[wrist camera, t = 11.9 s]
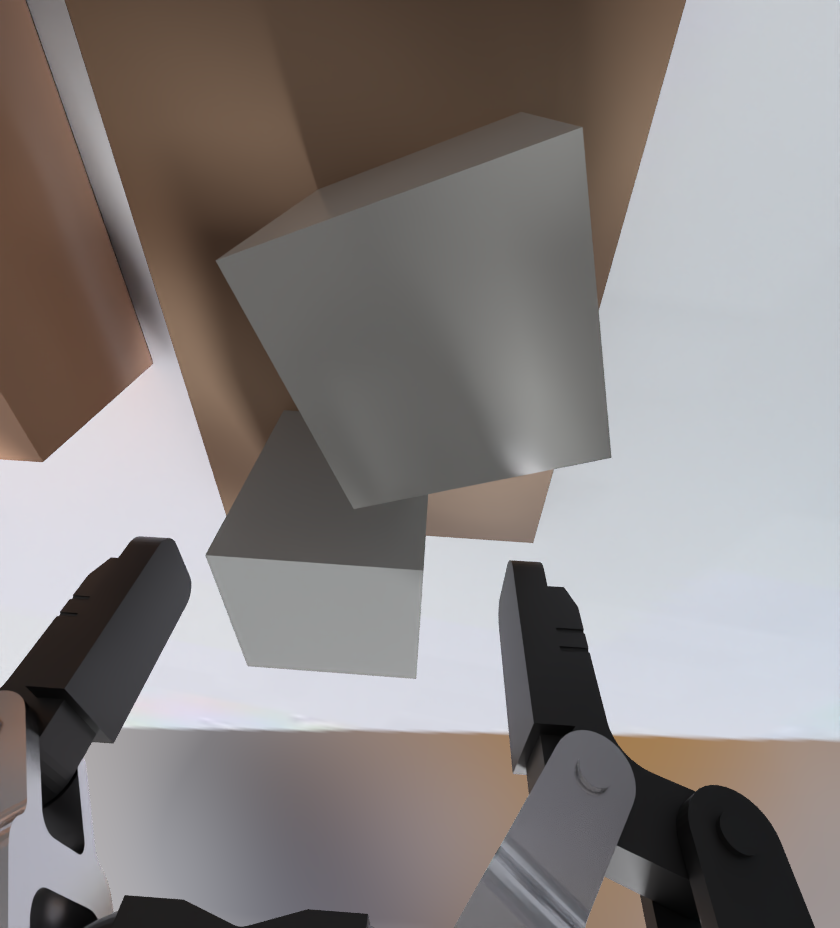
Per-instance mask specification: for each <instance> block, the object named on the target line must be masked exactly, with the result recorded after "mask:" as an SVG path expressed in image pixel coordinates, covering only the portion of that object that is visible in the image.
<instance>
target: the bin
mask: <svg viewBox="0 0 840 928" xmlns="http://www.w3.org/2000/svg"><path fill="white" fill-rule="evenodd" d="M152 364H153V362H152V359H151V356H150V353H149V351H148V348H147V345H146V342H145V339H144V336H143V333H142V331H141V328H140V325H139V322H138V319H137V316H136V314H135V311H134V308H133V305H132V302H131V299H130V296H129V294H128V291H127V288H126V285H125V282H124V279H123V277H122V274H121V271H120V268H119V265H118V262H117V259H116V257H115V254H114V251H113V248H112V245H111V242H110V240H109V237H108V234H107V231H106V228H105V225H104V222H103V220H102V217H101V214H100V211H99V208H98V205H97V203H96V200H95V197H94V194H93V191H92V188H91V185H90V183H89V180H88V177H87V174H86V171H85V168H84V166H83V163H82V160H81V157H80V154H79V151H78V148H77V146H76V143H75V140H74V137H73V134H72V131H71V129H70V126H69V123H68V120H67V117H66V114H65V111H64V109H63V106H62V103H61V100H60V97H59V94H58V92H57V89H56V86H55V83H54V80H53V77H52V74H51V72H50V69H49V66H48V63H47V60H46V57H45V55H44V52H43V49H42V46H41V43H40V40H39V37H38V35H37V32H36V29H35V26H34V23H33V20H32V18H31V15H30V12H29V9H28V6H27V3H26V0H0V459H3V460H18V461H33V462H43V461H45V460H46V459H47V458H48V457H49V456H50V455H51V454H52V453H54V452H55V451H56V450H57V449H58V448H59V447H60V446H61V445H63V444H64V443H65V442H66V441H67V440H68V439H69V438H70V437H71V436H73V435H74V434H75V433H76V432H77V431H78V430H79V429H80V428H82V427H83V426H84V425H85V424H86V423H87V422H88V421H89V420H91V419H92V418H93V417H94V416H95V415H96V414H97V413H98V412H99V411H101V410H102V409H103V408H104V407H105V406H106V405H107V404H108V403H110V402H111V401H112V400H113V399H114V398H115V397H116V396H117V395H119V394H120V393H121V392H122V391H123V390H124V389H125V388H126V387H127V386H129V385H130V384H131V383H132V382H133V381H134V380H135V379H136V378H138V377H139V376H140V375H141V374H142V373H143V372H144V371H145V370H147V369H148V368H149V367H150V366H151V365H152Z"/></svg>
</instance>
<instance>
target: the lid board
mask: <svg viewBox="0 0 840 928" xmlns="http://www.w3.org/2000/svg"><path fill="white" fill-rule="evenodd" d="M685 2H686V0H65V3H66V6H67V9H68V12H69V16H70V19H71V22H72V25H73V28H74V31H75V35H76V38H77V41H78V44H79V47H80V51H81V54H82V57H83V60H84V63H85V67H86V70H87V73H88V76H89V79H90V82H91V86H92V89H93V92H94V95H95V98H96V102H97V105H98V108H99V111H100V114H101V118H102V121H103V124H104V127H105V130H106V133H107V137H108V140H109V143H110V146H111V149H112V153H113V156H114V159H115V162H116V165H117V169H118V172H119V175H120V178H121V181H122V184H123V188H124V191H125V194H126V197H127V200H128V204H129V207H130V210H131V213H132V216H133V220H134V223H135V226H136V229H137V232H138V235H139V239H140V242H141V245H142V248H143V251H144V255H145V258H146V261H147V264H148V267H149V271H150V274H151V277H152V280H153V283H154V286H155V290H156V293H157V296H158V299H159V302H160V306H161V309H162V312H163V315H164V318H165V322H166V325H167V328H168V331H169V334H170V337H171V341H172V344H173V347H174V350H175V353H176V357H177V360H178V363H179V366H180V369H181V373H182V376H183V379H184V382H185V385H186V388H187V392H188V395H189V398H190V401H191V404H192V408H193V411H194V414H195V417H196V420H197V424H198V427H199V430H200V433H201V436H202V439H203V443H204V446H205V449H206V452H207V455H208V459H209V462H210V465H211V468H212V471H213V475H214V478H215V481H216V484H217V487H218V490H219V494H220V497H221V500H222V503H223V506H224V510H225V513H226V516H227V514H228V512H229V511H230V509H231V507H232V505H233V503H234V501H235V499H236V498H237V496H238V494H239V492H240V490H241V488H242V487H243V485H244V483H245V481H246V479H247V477H248V475H249V474H250V472H251V470H252V468H253V466H254V464H255V462H256V461H257V459H258V457H259V455H260V453H261V451H262V450H263V448H264V446H265V444H266V442H267V440H268V438H269V437H270V435H271V433H272V431H273V429H274V427H275V425H276V424H277V422H278V420H279V418H280V416H281V414H282V412H283V411H284V410H289V411H299V410H298V408H297V406H296V404H295V403H294V401H293V399H292V397H291V395H290V394H289V392H288V390H287V388H286V386H285V385H284V383H283V381H282V379H281V377H280V376H279V374H278V372H277V370H276V368H275V367H274V365H273V363H272V361H271V359H270V358H269V356H268V354H267V352H266V350H265V349H264V347H263V345H262V343H261V341H260V340H259V338H258V336H257V334H256V332H255V331H254V329H253V327H252V325H251V323H250V322H249V320H248V318H247V316H246V314H245V313H244V311H243V309H242V307H241V305H240V304H239V302H238V300H237V298H236V296H235V295H234V293H233V291H232V289H231V287H230V286H229V284H228V282H227V280H226V278H225V277H224V275H223V273H222V271H221V269H220V268H219V266H218V264H217V262H216V260H217V259H218V258H220V257H221V256H223V255H224V254H226V253H227V252H228V251H230V250H231V249H233V248H234V247H236V246H237V245H239V244H240V243H241V242H243V241H244V240H246V239H247V238H249V237H250V236H252V235H253V234H254V233H256V232H257V231H259V230H260V229H262V228H263V227H264V226H266V225H267V224H269V223H270V222H272V221H273V220H275V219H276V218H277V217H279V216H280V215H282V214H283V213H285V212H286V211H288V210H289V209H290V208H292V207H293V206H295V205H296V204H298V203H299V202H300V201H302V200H303V199H305V198H306V197H308V196H309V195H311V194H312V193H313V192H315V191H316V190H318V189H320V188H323V187H326V186H328V185H331V184H334V183H336V182H339V181H341V180H344V179H347V178H349V177H352V176H354V175H357V174H360V173H362V172H365V171H368V170H370V169H373V168H375V167H378V166H381V165H383V164H386V163H388V162H391V161H394V160H396V159H399V158H402V157H404V156H407V155H409V154H412V153H415V152H417V151H420V150H422V149H425V148H428V147H430V146H433V145H436V144H438V143H441V142H443V141H446V140H449V139H451V138H454V137H456V136H459V135H462V134H464V133H467V132H470V131H472V130H475V129H477V128H480V127H483V126H485V125H488V124H490V123H493V122H496V121H498V120H501V119H504V118H506V117H509V116H511V115H514V114H517V113H519V112H524V113H528V114H532V115H536V116H540V117H544V118H548V119H552V120H556V121H560V122H564V123H568V124H572V125H576V126H580V127H583V139H584V150H585V162H586V173H587V185H588V196H589V207H590V219H591V230H592V242H593V253H594V265H595V276H596V288H597V299H598V311H599V307H600V304H601V300H602V297H603V293H604V290H605V286H606V282H607V279H608V275H609V272H610V268H611V265H612V261H613V258H614V254H615V251H616V247H617V243H618V240H619V236H620V233H621V229H622V226H623V222H624V219H625V215H626V212H627V208H628V204H629V201H630V197H631V194H632V190H633V187H634V183H635V180H636V176H637V173H638V169H639V165H640V162H641V158H642V155H643V151H644V148H645V144H646V141H647V137H648V134H649V130H650V126H651V123H652V119H653V116H654V112H655V109H656V105H657V102H658V98H659V95H660V91H661V87H662V84H663V80H664V77H665V73H666V70H667V66H668V63H669V59H670V55H671V52H672V48H673V45H674V41H675V38H676V34H677V31H678V27H679V24H680V20H681V16H682V13H683V9H684V6H685ZM553 470H554V469H552V470H547V471H542V472H537V473H532V474H527V475H522V476H517V477H512V478H507V479H502V480H497V481H492V482H487V483H482V484H477V485H472V486H467V487H462V488H457V489H452V490H447V491H442V492H437V493H432V494H428V506H427V521H426V536H439V537H454V538H469V539H483V540H498V541H512V542H527V543H533V541H534V538H535V534H536V531H537V527H538V524H539V520H540V516H541V513H542V509H543V506H544V502H545V499H546V495H547V492H548V488H549V485H550V481H551V477H552V474H553Z"/></svg>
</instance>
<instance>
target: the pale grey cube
mask: <svg viewBox="0 0 840 928" xmlns="http://www.w3.org/2000/svg"><path fill="white" fill-rule="evenodd" d="M216 262H217V264H218V266H219V268H220V269H221V271H222V273H223V275H224V277H225V278H226V280H227V282H228V284H229V286H230V287H231V289H232V291H233V293H234V295H235V296H236V298H237V300H238V302H239V304H240V305H241V307H242V309H243V311H244V313H245V314H246V316H247V318H248V320H249V322H250V323H251V325H252V327H253V329H254V331H255V332H256V334H257V336H258V338H259V340H260V341H261V343H262V345H263V347H264V349H265V350H266V352H267V354H268V356H269V358H270V359H271V361H272V363H273V365H274V367H275V368H276V370H277V372H278V374H279V376H280V377H281V379H282V381H283V383H284V385H285V386H286V388H287V390H288V392H289V394H290V395H291V397H292V399H293V401H294V403H295V404H296V406H297V408H298V410H299V412H300V413H301V415H302V417H303V419H304V421H305V422H306V424H307V426H308V428H309V430H310V431H311V433H312V435H313V437H314V439H315V440H316V442H317V444H318V446H319V448H320V449H321V451H322V453H323V455H324V457H325V458H326V460H327V462H328V464H329V466H330V467H331V469H332V471H333V473H334V475H335V476H336V478H337V480H338V482H339V484H340V485H341V487H342V489H343V491H344V493H345V494H346V496H347V498H348V500H349V502H350V503H351V505H352V507H353V509H357V508H362V507H367V506H372V505H377V504H382V503H387V502H392V501H397V500H402V499H407V498H412V497H417V496H422V495H427V494H432V493H437V492H442V491H447V490H452V489H457V488H462V487H467V486H472V485H477V484H482V483H487V482H492V481H497V480H502V479H507V478H512V477H517V476H522V475H527V474H532V473H537V472H542V471H547V470H552V469H557V468H562V467H567V466H572V465H577V464H582V463H587V462H592V461H597V460H602V459H607V458H611V448H610V437H609V426H608V414H607V403H606V391H605V380H604V368H603V357H602V345H601V334H600V322H599V311H598V299H597V288H596V276H595V265H594V253H593V242H592V230H591V219H590V207H589V196H588V185H587V173H586V162H585V150H584V139H583V127H580V126H576V125H572V124H568V123H564V122H560V121H556V120H552V119H548V118H544V117H540V116H536V115H532V114H528V113H524V112H519V113H517V114H514V115H511V116H509V117H506V118H504V119H501V120H498V121H496V122H493V123H490V124H488V125H485V126H483V127H480V128H477V129H475V130H472V131H470V132H467V133H464V134H462V135H459V136H456V137H454V138H451V139H449V140H446V141H443V142H441V143H438V144H436V145H433V146H430V147H428V148H425V149H422V150H420V151H417V152H415V153H412V154H409V155H407V156H404V157H402V158H399V159H396V160H394V161H391V162H388V163H386V164H383V165H381V166H378V167H375V168H373V169H370V170H368V171H365V172H362V173H360V174H357V175H354V176H352V177H349V178H347V179H344V180H341V181H339V182H336V183H334V184H331V185H328V186H326V187H323V188H320V189H318V190H316V191H315V192H313V193H312V194H311V195H309V196H308V197H306V198H305V199H303V200H302V201H300V202H299V203H298V204H296V205H295V206H293V207H292V208H290V209H289V210H288V211H286V212H285V213H283V214H282V215H280V216H279V217H277V218H276V219H275V220H273V221H272V222H270V223H269V224H267V225H266V226H264V227H263V228H262V229H260V230H259V231H257V232H256V233H254V234H253V235H252V236H250V237H249V238H247V239H246V240H244V241H243V242H241V243H240V244H239V245H237V246H236V247H234V248H233V249H231V250H230V251H228V252H227V253H226V254H224V255H223V256H221V257H220V258H218V259H217V260H216Z"/></svg>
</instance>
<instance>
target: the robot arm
mask: <svg viewBox="0 0 840 928" xmlns="http://www.w3.org/2000/svg"><path fill="white" fill-rule="evenodd" d="M190 593H191V579H190V576H189V573H188V571H187V569H186V566H185V564H184V562H183V559H182V557H181V555H180V552H179V550H178V547H177V545H176V543H175V541H174V540H173V539H170V538H157V537H136V538H134V539H133V540H132V541H131V542H130V543H129V544H128V545H127V547H126V548H125V550H124V551H123V552H122V554H121V555H120V556H119V558H110V559H108V560H107V561H106V562H105V563H103V564H102V565H101V566H99V567H98V568H97V569H95V570H94V571H93V572H92V573H90V574H89V575H88V576H87V578H86V579H85V580H84V581H83V583H82V584H81V585H80V587H79V588H78V589H77V591H76V592H75V593H74V594H73V599H70V600H69V601H68V602H67V604H66V605H65V606H64V607H63V609H62V610H61V611H60V616H57V617H56V618H55V619H54V621H53V622H52V623H51V624H50V626H49V627H48V628H47V630H46V631H45V632H44V634H43V635H42V636H41V637H40V639H39V640H38V641H37V643H36V644H35V645H34V647H33V648H32V649H31V650H30V652H29V653H28V654H27V656H26V657H25V658H24V660H23V661H22V662H21V663H20V665H19V666H18V667H17V669H16V670H15V671H14V673H13V674H12V675H11V676H10V678H9V679H8V680H7V681H6V683H5V684H4V685H3V686H2V687H1V688H0V928H374V927H372V926H370V922H369V917H368V914H361V913H348V912H335V911H321V910H309V909H308V910H304V911H300V912H297V913H293V914H289V915H286V916H282V917H278V918H275V919H271V920H268V921H264V922H260V923H257V924H253V925H249V926H244V927H238V926H235V925H233V924H231V923H229V922H227V921H225V920H223V919H221V918H219V917H217V916H215V915H213V914H211V913H209V912H207V911H205V910H203V909H201V908H199V907H197V906H195V905H193V904H191V903H189V902H187V901H185V900H180V899H179V900H178V899H167V898H153V897H140V896H128V895H125V896H124V898H123V901H122V903H121V905H120V908H119V910H118V911H117V912H114V913H113V905H112V898H111V892H110V888H109V884H108V881H107V878H106V875H105V873H104V871H103V869H102V868H101V866H100V864H99V861H98V858H97V854H96V849H95V840H94V831H93V822H92V813H91V804H90V795H89V785H88V776H87V767H86V762H85V759H84V758H83V757H84V755H85V754H86V752H87V750H88V748H89V746H90V745H91V743H92V742H100V743H114V741H115V740H116V738H117V736H118V734H119V732H120V730H121V728H122V726H123V724H124V722H125V721H126V719H127V717H128V715H129V713H130V711H131V709H132V707H133V705H134V703H135V702H136V700H137V698H138V696H139V694H140V692H141V690H142V688H143V686H144V684H145V683H146V681H147V679H148V677H149V675H150V673H151V671H152V669H153V667H154V665H155V664H156V662H157V660H158V658H159V656H160V654H161V652H162V650H163V648H164V646H165V645H166V643H167V641H168V639H169V637H170V635H171V633H172V631H173V629H174V628H175V626H176V624H177V622H178V620H179V618H180V616H181V614H182V612H183V610H184V609H185V607H186V605H187V603H188V600H189V597H190ZM583 630H584V629H583V625H582V621H581V617H580V613H579V609H578V607H577V605H576V604H575V602H574V601H573V599H572V598H571V597H570V595H569V594H568V592H567V591H566V589H565V588H564V587H551V586H547V582H546V577H545V572H544V568H543V565H542V563H540V562H527V561H509V562H508V565H507V569H506V573H505V578H504V582H503V587H502V591H501V595H500V600H499V632H500V642H501V653H502V664H503V674H504V685H505V696H506V706H507V717H508V727H509V738H510V748H511V759H512V769H513V774H524V775H527V781H528V789H529V796H528V798H527V799H526V801H525V803H524V805H523V807H522V808H521V810H520V812H519V814H518V816H517V817H516V819H515V821H514V823H513V825H512V826H511V828H510V830H509V832H508V833H507V835H506V837H505V839H504V841H503V842H502V844H501V846H500V847H499V849H498V851H497V852H496V854H495V856H494V857H493V859H492V861H491V863H490V864H489V866H488V868H487V870H486V871H485V873H484V875H483V877H482V878H481V880H480V882H479V884H478V886H477V887H476V889H475V891H474V893H473V894H472V896H471V898H470V900H469V902H468V903H467V905H466V907H465V909H464V911H463V912H462V914H461V916H460V918H459V919H458V922H457V923H456V925H455V927H454V928H585V925H586V922H587V919H588V916H589V913H590V911H591V908H592V906H593V903H594V901H595V898H596V896H597V893H598V891H599V888H600V886H601V883H602V881H603V878H604V876H605V877H607V878H609V879H611V880H613V881H615V882H617V883H619V884H621V885H623V886H625V887H627V888H628V889H631V890H633V891H635V892H637V893H638V894H640V897H641V902H642V907H643V912H644V917H645V922H646V927H647V928H815V926H814V924H813V922H812V919H811V916H810V914H809V912H808V909H807V906H806V904H805V902H804V899H803V897H802V894H801V892H800V889H799V887H798V884H797V882H796V879H795V877H794V874H793V872H792V869H791V867H790V864H789V862H788V859H787V857H786V854H785V852H784V849H783V847H782V844H781V842H780V840H779V837H778V835H777V833H776V831H775V830H774V828H773V826H772V825H771V823H770V822H769V820H768V819H767V818H766V816H765V815H764V814H763V813H762V812H761V811H760V810H759V809H758V807H757V806H755V805H754V804H753V803H752V802H751V801H750V800H748V799H747V798H746V797H744V796H743V795H741V794H740V793H738V792H736V791H734V790H732V789H729V788H727V787H723V786H719V785H709V786H704V787H702V788H700V789H698V790H697V791H696V792H695V791H693V790H691V789H688V788H686V787H684V786H681V785H679V784H676V783H674V782H672V781H670V780H667V779H665V778H663V777H660V776H658V775H656V774H653V773H651V772H649V771H647V770H645V769H644V768H642V767H641V766H639V765H638V764H636V763H635V762H634V761H633V760H631V759H630V758H629V757H628V756H627V755H626V754H625V753H624V752H623V751H622V749H621V748H620V747H619V746H618V744H617V742H616V741H615V739H614V737H613V735H612V733H611V731H610V729H609V726H608V723H607V719H606V715H605V711H604V708H603V704H602V700H601V696H600V692H599V688H598V684H597V680H596V676H595V672H594V668H593V664H592V660H591V656H590V653H589V652H588V645H587V641H586V637H585V634H584V633H583Z"/></svg>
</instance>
